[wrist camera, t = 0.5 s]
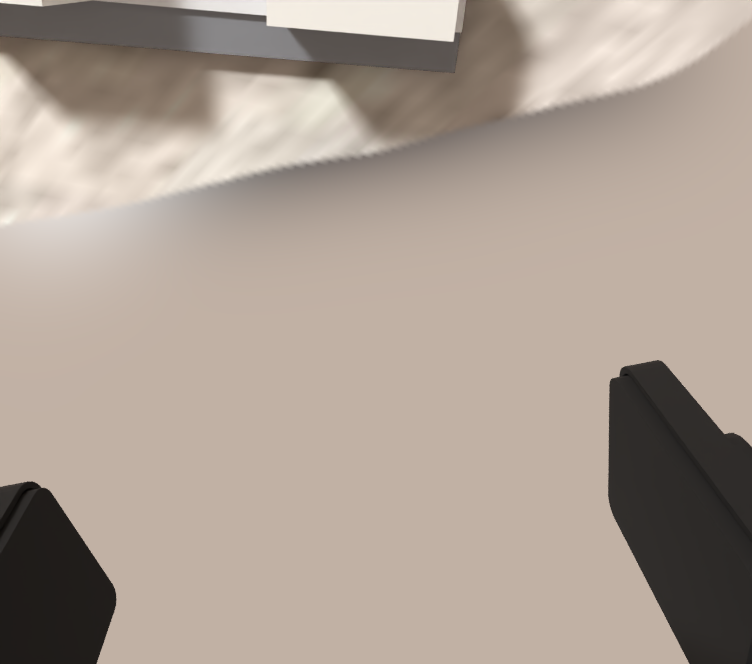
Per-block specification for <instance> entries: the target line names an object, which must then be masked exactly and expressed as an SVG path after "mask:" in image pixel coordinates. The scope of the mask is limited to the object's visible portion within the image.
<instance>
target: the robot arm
mask: <svg viewBox="0 0 752 664" xmlns="http://www.w3.org/2000/svg"><path fill="white" fill-rule="evenodd" d="M609 397H610V398H609V480H608V482H609V483H608V496H609V503H610V507H611V510H612V513H613V516H614V518H615V520H616V522H617V524H618V526H619V528H620V530H621V532H622V534H623V536H624V537H625V539H626V541H627V543H628V545H629V547H630V549H631V551H632V553H633V555H634V557H635V559H636V561H637V563H638V565H639V567H640V568H641V570H642V572H643V574H644V576H645V578H646V580H647V582H648V584H649V586H650V588H651V590H652V592H653V594H654V596H655V598H656V600H657V602H658V603H659V605H660V607H661V609H662V611H663V613H664V615H665V617H666V619H667V621H668V623H669V625H670V627H671V629H672V631H673V633H674V635H675V636H676V638H677V640H678V642H679V644H680V646H681V648H682V650H683V652H684V654H685V656H686V658H687V660H688V662H689V664H752V447H751V446H750V445H749V444H748V443H747V442H746V441H745V440H744V439H743V438H742V437H741V436H739V435H737V434H734V433H728V434H724V433H723V432H722V431H721V430H720V429H719V428H718V426H717V425H716V424H715V423H714V422H713V420H712V419H711V418H710V417H709V416H708V415H707V413H706V412H705V411H704V410H703V409H702V407H701V406H700V405H699V404H698V403H697V401H696V400H695V399H694V398H693V397H692V396H691V395H690V393H689V392H688V391H687V390H686V388H685V387H684V386H683V385H682V384H681V382H680V381H679V380H678V379H677V378H676V377H675V375H674V374H673V373H672V372H671V371H670V369H669V368H668V367H667V366H666V365H665V364H664V363H663V362H662V361H659V360H657V361H652V362H646V363H641V364H636V365H631V366H625V367H623V368H622V369H621V371H620V377H617V378H613V379H611V381H610V394H609ZM115 606H116V592H115V588H114V586H113V584H112V583H111V581H110V580H109V578H108V577H107V576H106V574H105V572H104V571H103V569H102V568H101V567H100V565H99V563H98V562H97V560H96V559H95V557H94V556H93V554H92V553H91V551H90V550H89V548H88V547H87V546H86V544H85V542H84V541H83V539H82V538H81V536H80V535H79V534H78V532H77V530H76V529H75V527H74V526H73V524H72V523H71V521H70V520H69V518H68V517H67V516H66V514H65V513H64V511H63V510H62V508H61V507H60V505H59V504H58V502H57V501H56V499H55V498H54V496H53V495H52V493H51V492H50V491H49V490H48V489H46V488H41V487H40V486H39V485H38V484H37V483H35V482H24V483H19V484H14V485H8V486H3V487H0V664H96V663H97V660H98V657H99V655H100V651H101V649H102V646H103V643H104V640H105V637H106V634H107V631H108V628H109V625H110V622H111V619H112V616H113V613H114V610H115Z"/></svg>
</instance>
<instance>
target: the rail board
mask: <svg viewBox="0 0 752 664" xmlns="http://www.w3.org/2000/svg"><path fill="white" fill-rule="evenodd" d="M465 6H466V0H459V4H458V11H457V19H456V26H455V34H454V41H453V42H449V41H438V40H426V39H414V38H403V37H391V36H380V35H368V34H356V33H345V32H333V31H322V30H310V29H298V28H287V27H275V26H267V4H266V0H92V1H83V2H75V3H67V4H59V5H51V6H31V5H20V4H8V3H0V36H5V37H18V38H30V39H42V40H55V41H67V42H79V43H92V44H104V45H116V46H128V47H141V48H153V49H165V50H178V51H190V52H202V53H215V54H227V55H239V56H252V57H264V58H276V59H289V60H301V61H313V62H326V63H338V64H350V65H363V66H375V67H387V68H400V69H412V70H424V71H437V72H449V73H455V68H456V60H457V53H458V46H459V38H460V33H462V28H463V20H464V13H465Z"/></svg>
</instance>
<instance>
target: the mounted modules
mask: <svg viewBox="0 0 752 664" xmlns="http://www.w3.org/2000/svg"><path fill="white" fill-rule="evenodd" d="M83 1H92V0H0V3H8V4H20V5H31V6H51V5H59V4H67V3H75V2H83ZM266 4H267V26H275V27H287V28H298V29H310V30H322V31H333V32H345V33H356V34H368V35H380V36H391V37H403V38H414V39H426V40H438V41H449V42H453V41H454V34H455V26H456V19H457V11H458V4H459V0H266Z"/></svg>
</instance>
